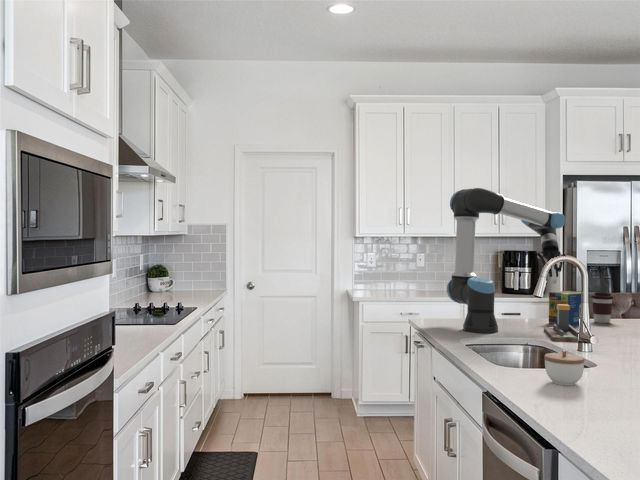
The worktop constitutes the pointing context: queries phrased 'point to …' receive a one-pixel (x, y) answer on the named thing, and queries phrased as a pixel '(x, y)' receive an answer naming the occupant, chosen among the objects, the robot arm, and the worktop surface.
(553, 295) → the protein box
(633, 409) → the worktop surface
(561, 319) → the switch handle
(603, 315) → the coffee cup
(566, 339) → the switch panel
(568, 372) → the lidded jar
